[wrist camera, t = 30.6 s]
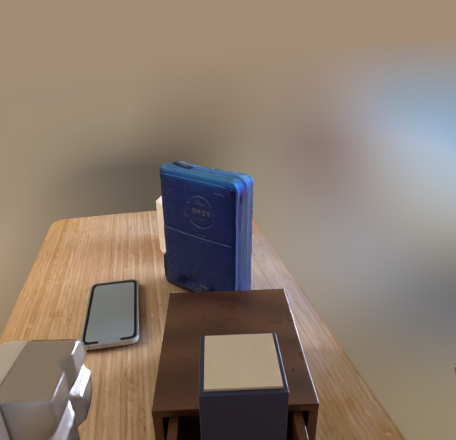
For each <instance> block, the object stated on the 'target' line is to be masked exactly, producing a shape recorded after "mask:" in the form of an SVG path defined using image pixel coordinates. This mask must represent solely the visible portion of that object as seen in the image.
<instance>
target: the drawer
mask: <svg viewBox="0 0 456 440" xmlns="http://www.w3.org/2000/svg"><path fill="white" fill-rule="evenodd" d="M167 440H201V429H200V416H181V417H169V425H168V434H167ZM286 440H309V439H308V435H307V431H306V427H305V423H304V419H303V415H302V411H288V418H287V434H286Z"/></svg>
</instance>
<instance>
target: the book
mask: <svg viewBox="0 0 456 440" xmlns="http://www.w3.org/2000/svg"><path fill="white" fill-rule="evenodd" d="M160 178H161V190H162V208H163V218H164V236H165V244H166V252H165V254H164V267H165V275H166V280H167V281H168V282H170V283H172V284H174V285H176V286H180V287H182V288H184V289H187V290H189V291H191V292H218V291H245V290H250V287H251V250H252V213H253V211H252V210H253V209H252V208H253V179H252V177H251V176H250V175H248V174H243V173H235V172H229V171H223V170H219V169H212V168H208V167H202V166H198V165H193V164H188V163H184V162H181V161H176V162H172V163H166V164H163V165H161V167H160Z"/></svg>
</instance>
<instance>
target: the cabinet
mask: <svg viewBox="0 0 456 440" xmlns="http://www.w3.org/2000/svg"><path fill="white" fill-rule="evenodd" d="M259 333H276V336H277V341H278V345H279V350H280V354H281V358H282V363H283V367H284V372H285V376H286V381H287V385H288V390H289V403H288V411H302V415H303V419H304V423H305V427H306V431H307V435H308V439H309V440H315V435H316V425H317V416H318V407H319V402H318V399H317V395H316V392H315V389H314V385H313V382H312V379H311V375H310V372H309V369H308V366H307V362H306V359H305V356H304V352H303V349H302V346H301V342H300V339H299V336H298V333H297V329H296V326H295V323H294V319H293V316H292V313H291V310H290V306H289V303H288V300H287V296H286V293H285V290H284V289H272V290H245V291H218V292H190V293H170V296H169V303H168V309H167V316H166V322H165V329H164V335H163V342H162V348H161V355H160V361H159V367H158V374H157V380H156V387H155V393H154V400H153V406H152V417H153V424H154V432H155V440H167V434H168V425H169V417H181V416H200V413H199V397H198V396H199V366H200V337H201V336H208V335H234V334H259Z"/></svg>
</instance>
